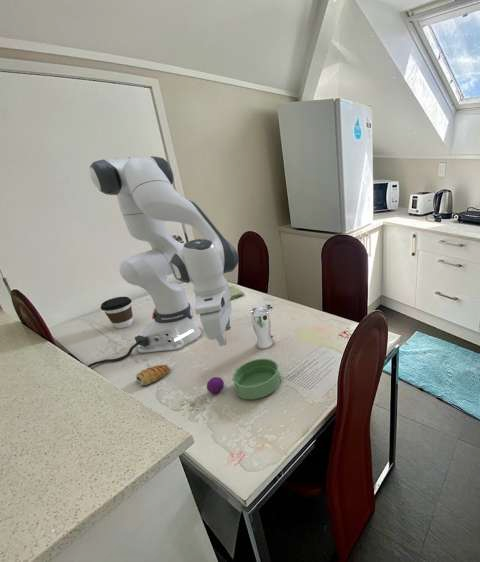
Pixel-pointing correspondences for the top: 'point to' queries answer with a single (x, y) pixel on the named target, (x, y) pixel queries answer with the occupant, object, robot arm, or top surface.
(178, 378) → the top surface
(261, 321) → the beer glass
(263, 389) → the bowl
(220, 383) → the ball
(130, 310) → the coffee cup
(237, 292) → the washcloth
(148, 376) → the pastry
